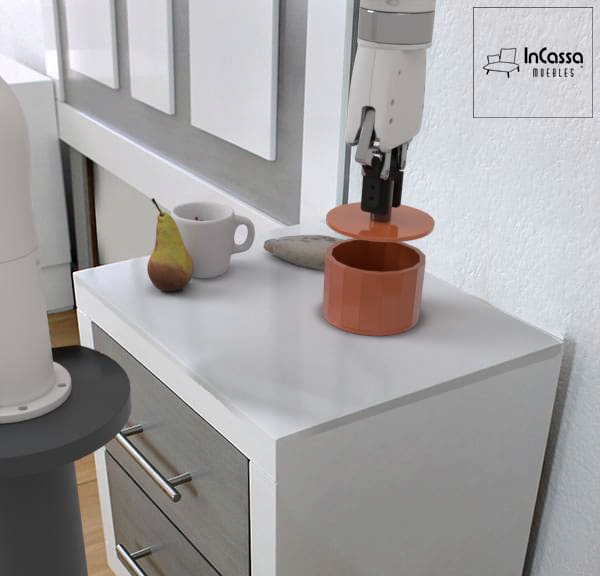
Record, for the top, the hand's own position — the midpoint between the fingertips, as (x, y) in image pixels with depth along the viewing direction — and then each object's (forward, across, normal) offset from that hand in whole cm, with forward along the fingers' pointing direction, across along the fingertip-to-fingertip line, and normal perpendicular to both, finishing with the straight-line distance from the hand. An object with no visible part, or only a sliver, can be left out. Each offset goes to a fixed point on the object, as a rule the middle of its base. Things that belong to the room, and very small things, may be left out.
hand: (380, 207), depth 100 cm
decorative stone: (+13, -11, -13) cm, 22 cm away
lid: (+2, 0, 0) cm, 2 cm away
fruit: (+13, +7, -24) cm, 28 cm away
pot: (+13, 0, 0) cm, 13 cm away
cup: (+13, -1, -23) cm, 27 cm away
